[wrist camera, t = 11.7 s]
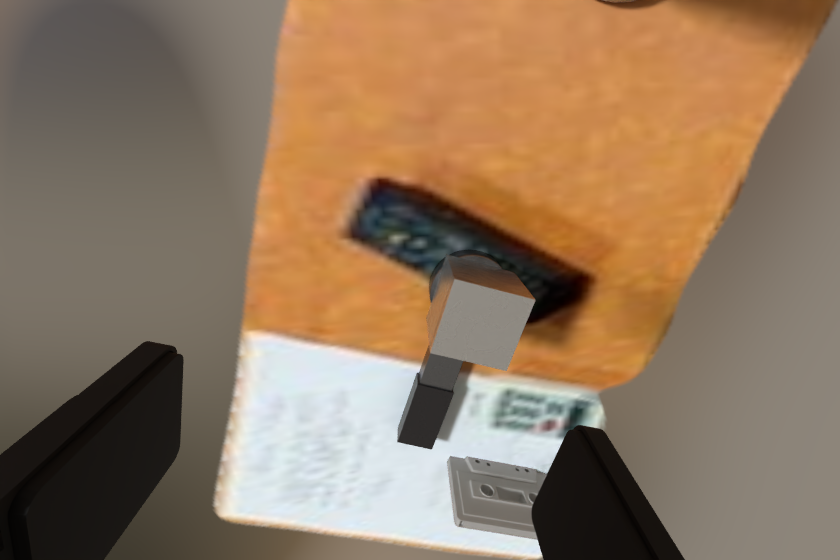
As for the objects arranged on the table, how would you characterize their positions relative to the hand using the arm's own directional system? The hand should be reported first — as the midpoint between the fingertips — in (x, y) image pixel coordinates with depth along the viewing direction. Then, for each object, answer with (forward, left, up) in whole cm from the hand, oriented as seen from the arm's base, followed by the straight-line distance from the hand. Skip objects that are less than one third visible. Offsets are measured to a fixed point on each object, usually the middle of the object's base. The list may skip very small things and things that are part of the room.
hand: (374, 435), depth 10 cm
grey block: (+4, +8, -24) cm, 25 cm away
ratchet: (+10, +8, -26) cm, 29 cm away
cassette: (+24, +18, -26) cm, 40 cm away
